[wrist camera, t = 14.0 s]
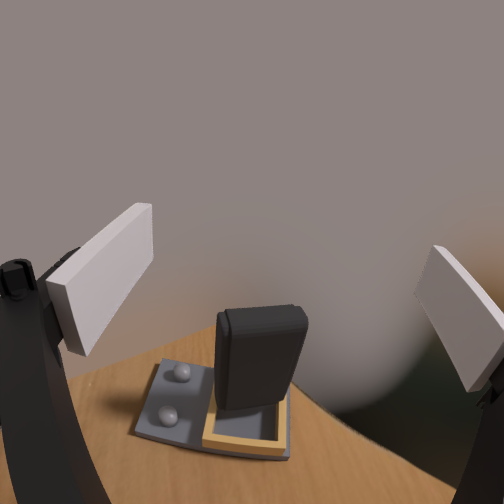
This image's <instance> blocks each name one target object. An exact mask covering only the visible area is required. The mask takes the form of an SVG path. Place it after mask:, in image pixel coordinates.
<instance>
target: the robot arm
mask: <svg viewBox="0 0 504 504" xmlns="http://www.w3.org/2000/svg"><path fill="white" fill-rule="evenodd" d="M152 260H153V240H152V204H146V203H135V204H134V205H133V206H131V207H130V208H129V209H127V210H126V211H125V212H124V213H122V214H121V215H120V216H119V217H117V218H116V219H115V220H114V221H112V222H111V223H110V224H109V225H107V226H106V227H105V228H104V229H102V230H101V231H100V232H99V233H98V234H96V235H95V236H94V237H93V238H92V239H90V240H89V241H88V242H87V243H86V244H85V245H83V247H78V248H76V249H74V250H72V251H70V252H68V253H67V254H66V255H64V256H63V257H62V258H61V259H60V261H58V262H56V263H55V264H54V266H53V267H51V268H50V269H49V270H48V271H47V272H45V273H44V274H43V275H42V276H41V277H40V278H39V279H38V280H37V281H36V280H35V276H34V272H33V269H32V265H31V262H30V261H28V260H27V259H14V260H11V261H8V262H6V263H4V264H2V265H1V266H0V295H1V296H0V426H1V428H2V435H3V442H4V448H5V454H6V459H7V464H8V469H9V473H10V478H11V482H12V486H13V489H14V493H15V497H16V500H17V503H18V504H111V502H110V500H109V498H108V496H107V494H106V491H105V489H104V487H103V485H102V483H101V481H100V478H99V476H98V474H97V471H96V469H95V467H94V464H93V462H92V459H91V457H90V454H89V451H88V449H87V446H86V443H85V441H84V438H83V435H82V432H81V429H80V426H79V423H78V420H77V417H76V413H75V410H74V407H73V403H72V400H71V396H70V392H69V388H68V384H67V380H66V376H65V372H64V368H63V363H62V358H61V353H60V350H59V348H58V344H59V343H60V342H61V340H62V339H64V341H65V344H66V346H67V349H68V351H70V352H73V353H76V354H79V355H82V356H85V357H87V356H88V354H89V352H90V351H91V349H92V348H93V346H94V345H95V343H96V341H97V340H98V338H99V337H100V335H101V334H102V332H103V331H104V329H105V327H106V326H107V325H108V323H109V321H110V320H111V319H112V317H113V315H114V314H115V313H116V311H117V310H118V308H119V306H120V305H121V304H122V302H123V301H124V299H125V298H126V296H127V295H128V293H129V292H130V291H131V289H132V288H133V286H134V285H135V284H136V282H137V281H138V279H139V278H140V277H141V275H142V274H143V272H144V271H145V270H146V268H147V267H148V265H149V264H150V262H151V261H152ZM414 294H415V295H416V297H417V299H418V300H419V302H420V304H421V305H422V307H423V309H424V311H425V312H426V314H427V316H428V317H429V319H430V321H431V323H432V325H433V326H434V328H435V330H436V332H437V334H438V335H439V337H440V339H441V341H442V343H443V345H444V347H445V348H446V350H447V352H448V354H449V356H450V358H451V360H452V362H453V364H454V366H455V368H456V370H457V372H458V374H459V376H460V378H461V380H462V383H463V385H464V387H465V389H466V391H467V392H471V391H477V390H480V389H481V388H482V387H483V385H484V384H485V383H486V382H487V381H488V379H489V380H490V381H491V383H492V385H491V386H490V387H489V389H488V390H487V391H486V393H485V394H484V395H483V396H482V397H481V398H480V399H479V401H478V402H477V404H476V406H478V405H479V404H480V403H481V402H484V404H483V405H482V406H481V408H482V409H483V411H482V415H481V419H480V423H479V427H478V430H477V434H476V437H475V441H474V444H473V447H472V450H471V454H470V456H469V459H468V462H467V465H466V468H465V471H464V473H463V476H462V479H461V481H460V484H459V486H458V488H457V491H456V493H455V495H454V498H453V500H452V502H451V504H504V314H503V313H502V312H501V310H500V309H499V308H498V307H497V306H496V304H495V303H494V302H493V301H492V299H491V298H490V297H489V296H488V295H487V293H486V292H485V291H484V290H483V289H482V288H481V286H480V285H479V284H478V283H477V282H476V281H475V280H474V278H473V277H472V276H471V275H470V274H469V273H468V272H467V271H466V270H465V268H464V267H463V266H462V265H461V264H460V263H459V262H458V261H457V260H456V259H455V258H454V257H453V256H452V255H451V254H450V253H449V252H448V251H447V250H446V249H445V248H444V247H440V246H435V245H432V248H431V251H430V254H429V257H428V259H427V262H426V264H425V267H424V270H423V272H422V275H421V277H420V280H419V282H418V285H417V287H416V290H415V292H414Z"/></svg>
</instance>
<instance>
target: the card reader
mask: <svg viewBox="0 0 504 504" xmlns="http://www.w3.org/2000/svg"><path fill="white" fill-rule="evenodd" d="M307 330H308V317H307V316H306V314H305V312H304V311H303V309H302V308H301V307H300V306H294V305H292V304H291V305H279V306H267V307H252V308H237V309H225V311H224V312H219V313H218V314H217V323H216V341H215V363H214V394H215V400H216V404H217V408H218V409H219V410H224V411H231V410H239V409H247V408H254V407H260V406H266V405H272V404H278V403H279V401H283V400H284V398H285V395H286V393H287V390H288V388H289V385H290V382H291V380H292V377H293V374H294V371H295V368H296V365H297V362H298V359H299V356H300V353H301V350H302V347H303V344H304V340H305V337H306V333H307Z"/></svg>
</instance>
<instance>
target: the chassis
mask: <svg viewBox="0 0 504 504" xmlns="http://www.w3.org/2000/svg"><path fill="white" fill-rule="evenodd" d="M135 433H136V435H137V436H140V437H143V438H147V439H150V440H154V441H158V442H162V443H166V444H170V445H175V446H179V447H184V448H189V449H194V450H199V451H205V452H211V453H217V454H223V455H230V456H238V457H247V458H256V459H268V460H284V461H288V459H289V457H290V385H289V388H288V390H287V393H286V395H285V398H284V400H283V401H279V403H278V404H272V405H266V406H260V407H254V408H247V409H239V410H231V411H224V410H219V409H218V408H217V404H216V400H215V394H214V368H211V367H206V366H200V365H194V364H189V363H184V362H179V361H174V360H169V359H164V358H162V361H161V363H160V366H159V368H158V371H157V373H156V376H155V378H154V381H153V383H152V386H151V389H150V391H149V394H148V396H147V399H146V401H145V404H144V407H143V409H142V412H141V415H140V417H139V420H138V423H137V425H136V428H135Z"/></svg>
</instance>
